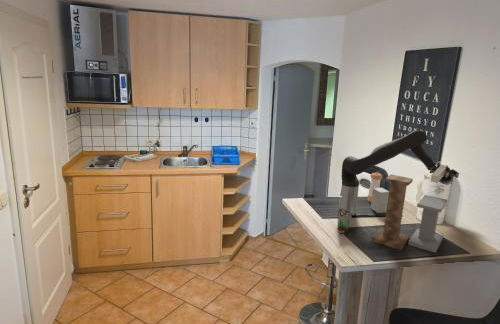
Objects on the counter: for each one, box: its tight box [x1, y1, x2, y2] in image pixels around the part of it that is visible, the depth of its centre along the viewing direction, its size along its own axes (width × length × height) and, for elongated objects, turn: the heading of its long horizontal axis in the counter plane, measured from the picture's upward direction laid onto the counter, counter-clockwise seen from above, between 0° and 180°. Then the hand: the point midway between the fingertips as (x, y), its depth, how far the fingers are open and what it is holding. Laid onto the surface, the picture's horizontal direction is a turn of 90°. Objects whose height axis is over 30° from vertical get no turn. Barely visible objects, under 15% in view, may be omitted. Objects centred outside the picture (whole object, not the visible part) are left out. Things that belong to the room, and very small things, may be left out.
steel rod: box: [430, 164, 448, 184], centre depth 166 cm, size 3×24×3 cm, turn 142°
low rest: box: [407, 194, 448, 254], centre depth 168 cm, size 12×18×21 cm, turn 142°
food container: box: [337, 207, 353, 235], centre depth 179 cm, size 12×6×10 cm, turn 168°
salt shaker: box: [367, 171, 383, 203], centre depth 221 cm, size 7×7×19 cm
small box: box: [370, 187, 389, 214], centre depth 206 cm, size 8×6×13 cm
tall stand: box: [371, 174, 414, 251], centre depth 167 cm, size 14×14×32 cm
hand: (442, 167), depth 171 cm, fingers closed on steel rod, 3 cm apart
